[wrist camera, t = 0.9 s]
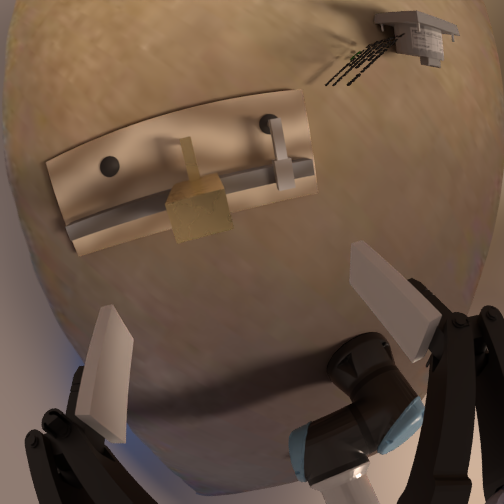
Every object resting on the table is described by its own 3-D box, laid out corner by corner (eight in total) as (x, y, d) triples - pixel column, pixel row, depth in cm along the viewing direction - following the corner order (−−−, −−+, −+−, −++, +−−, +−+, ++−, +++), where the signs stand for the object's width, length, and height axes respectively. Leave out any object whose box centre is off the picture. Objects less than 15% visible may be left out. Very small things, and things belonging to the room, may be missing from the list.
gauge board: (313, 190, 37) (327, 198, 33) (82, 252, 34) (71, 266, 30) (297, 90, 30) (311, 86, 26) (51, 160, 28) (34, 165, 24)
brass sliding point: (222, 198, 33) (233, 228, 23) (182, 209, 32) (177, 243, 23) (207, 131, 29) (211, 131, 20) (165, 142, 29) (149, 148, 19)
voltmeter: (393, 0, 24) (431, -15, 16) (432, 50, 29) (472, 46, 20) (297, 77, 30) (331, 62, 21) (352, 137, 34) (396, 143, 26)
